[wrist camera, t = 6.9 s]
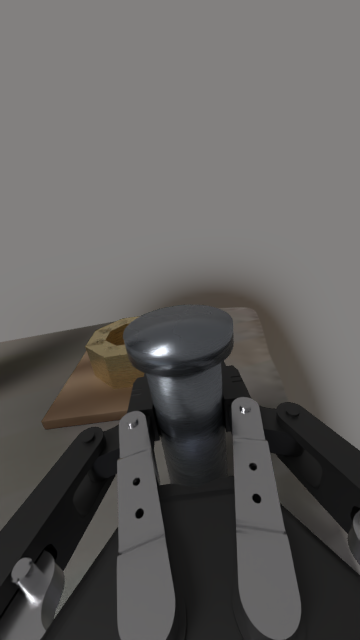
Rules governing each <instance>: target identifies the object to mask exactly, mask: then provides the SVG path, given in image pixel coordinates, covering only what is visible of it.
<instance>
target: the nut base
mask: <svg viewBox="0 0 360 640" xmlns="http://www.w3.org/2000/svg"><path fill="white" fill-rule="evenodd" d="M139 317H140V316H139ZM136 318H138V317H131V318H123V319H120V320H118V321H116V322H114V323H111V324H109V325H107V326H105V327H102V328H100V329H98V330H96V331H95V333H94V334H93V336H92V337H91V339H90V340H89V342H88V343H87V344H86V346H85V348H86V352H85V354H84V356H83V357H82V359H81V360H80V362H79V363H78V365H77V367H76V368H75V370H74V371H73V373H72V374H71V376H70V377H69V379H68V381H67V382H66V384H65V385H64V387H63V388H62V390H61V392H60V393H59V395H58V396H57V398H56V399H55V401H54V402H53V404H52V406H51V407H50V409H49V410H48V412H47V413H46V415H45V417H44V418H43V420H42V421H41V422H42V424H43V426H44V428H45V429H52V428H60V427H67V426H75V425H83V424H90V423H98V422H106V421H113V420H121V419H122V417H123V416H125V415H126V414H127V410H128V406H129V401H130V396H131V392H132V387H133V383H134V382H135V381H136V379H137V378H139V377H144V372H141V371H139V370H138V369H136V368H135V367H134V366H132V364H131V363H130V361H129V359H128V355H127V351H126V347H125V343H124V339H123V332H124V330H125V328H126V327H127V326H128V325H129V324H130V323H131V322H132V321H133V320H135V319H136Z"/></svg>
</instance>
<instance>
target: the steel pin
mask: <svg viewBox="0 0 360 640" xmlns="http://www.w3.org/2000/svg"><path fill="white" fill-rule="evenodd" d="M123 339H124V343H125V347H126V351H127V355H128V359H129V361H130V363H131V364H132V366H134V367H135V368H136V369H138V370H139V371H141V372H144V373H146V375H147V379H148V384H149V388H150V393H151V397H152V402H153V406H154V410H155V415H156V419H157V424H158V428H159V433H160V437H161V442H162V446H163V450H164V455H165V459H166V464H167V468H168V473H169V477H170V481H171V484H178V485H185V486H191V487H199V486H201V485H203V484H206V483H208V482H210V481H213V480H215V479H217V478H221V477H228V474H227V457H226V440H225V425H224V408H223V390H222V373H221V362H223V361H224V360H225V359H226V358H227V357H228V356H229V355H230V353H231V351H232V349H233V343H234V341H233V320H232V318H231V316H230V315H229V314H228V313H226V312H225V311H223V310H221V309H218V308H215V307H211V306H204V305H178V306H172V307H166V308H162V309H158V310H155V311H152V312H149V313H146V314H144V315H142V316H140V317H138V318H136V319H135V320H133V321H132V322H131V323H130V324H129V325H128V326H127V327H126V328H125V330H124V332H123Z"/></svg>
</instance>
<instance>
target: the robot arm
mask: <svg viewBox="0 0 360 640" xmlns="http://www.w3.org/2000/svg"><path fill="white" fill-rule="evenodd" d="M221 373H222V390H223V408H224V425H225V429H226V432H230V431H231V433H232V436H233V458H234V476H229V477H221V478H217V479H215V480H213V481H210V482H208V483H206V484H203V485H201V486H199V487H191V486H185V485H178V484H166V485H160V480H159V474H158V469H157V464H156V458H155V453H154V441H158V440H160V433H159V428H158V424H157V419H156V415H155V410H154V406H153V402H152V397H151V393H150V388H149V384H148V379H147V375H146V373H144V377H139V378H137V379H136V381H135V382H134V383H133V387H132V392H131V396H130V401H129V406H128V410H127V414H126V415H125V416H123V417H122V419H121V420H120V422H119V425H118V426H116V427H114V428H112V429H109V430H107V431H104V432H103V431H102V429H101V428H99V427H91V428H88V429H86V430H84V431H83V432H81V433H80V434H79V435H78V436H77V438H76V439H75V440H74V441H73V442H72V444H71V445H70V446H69V447H68V449H67V450H66V451H65V452H64V454H63V455H62V456H61V457H60V458H59V460H58V461H57V462H56V463H55V465H54V466H53V467H52V468H51V470H50V471H49V472H48V473H47V475H46V476H45V477H44V478H43V479H42V481H41V482H40V483H39V484H38V486H37V487H36V488H35V489H34V491H33V492H32V493H31V494H30V496H29V497H28V498H27V499H26V500H25V502H24V503H23V504H22V505H21V507H20V508H19V509H18V510H17V512H16V513H15V514H14V515H13V517H12V518H11V519H10V520H9V521H8V523H7V524H6V525H5V526H4V528H3V529H2V530H1V531H0V640H360V575H359V574H358V573H357V572H356V571H354V570H353V569H352V568H351V567H350V566H349V565H348V564H347V563H346V562H344V561H343V560H342V559H341V558H340V557H339V556H338V555H337V554H336V553H334V552H333V551H332V550H331V549H330V548H329V547H328V546H327V545H326V544H324V543H323V542H322V541H321V540H320V539H319V538H318V537H317V536H316V535H314V534H313V533H312V532H311V531H310V530H309V529H308V528H307V527H306V526H304V525H303V524H302V523H301V522H300V521H299V520H298V519H297V518H296V517H294V516H293V515H292V514H291V513H290V512H289V511H288V510H287V509H286V508H284V507H283V506H282V505H281V504H280V502H279V497H278V492H277V487H276V481H275V476H274V471H273V466H272V461H271V455H270V453H276V455H277V456H278V458H279V459H280V460H281V461H282V462H283V463H284V464H285V465H286V466H287V467H288V469H289V470H290V471H291V472H292V473H293V474H294V475H295V476H296V477H297V478H298V480H299V481H300V482H301V483H302V484H303V485H304V486H305V487H306V488H307V489H308V491H309V492H310V493H311V494H312V495H313V496H314V497H315V498H316V499H317V500H318V502H319V503H320V504H321V505H322V506H323V507H324V508H325V509H326V510H327V511H328V513H329V514H330V515H331V516H332V517H333V518H334V519H335V520H336V521H337V522H338V524H339V525H340V526H341V527H342V528H343V529H344V530H345V531H346V532H347V533H348V545H349V548H350V550H351V552H352V554H353V556H354V558H355V559H356V560H357V562H358V563H359V564H360V451H359V450H358V449H357V448H355V447H354V446H353V445H351V444H350V443H349V442H347V441H346V440H345V439H344V438H342V437H341V436H340V435H338V434H337V433H336V432H334V431H333V430H332V429H330V428H329V427H328V426H326V425H325V424H324V423H323V422H321V421H320V420H319V419H317V418H316V417H314V416H313V415H312V414H311V413H309V412H308V411H307V410H305V409H304V408H303V407H301V406H300V405H298V404H295V403H291V402H285V403H282V404H280V405H279V406H278V407H277V409H271V408H265V407H262V406H259V405H258V403H257V402H256V401H254V400H253V399H251V397H250V395H249V393H248V390H247V388H246V386H245V384H244V382H243V380H242V378H241V376H240V373H239V371H238V370H237V369H236V368H235V367H234V366H232V365H231V366H226V365H225V363H224V361H223V362H221ZM116 474H117V483H118V528H117V529H116V530H115V532H114V533H113V535H112V536H111V538H110V539H109V541H108V542H107V543H106V545H105V546H104V548H103V549H102V551H101V552H100V554H99V555H98V557H97V558H96V559H95V561H94V562H93V564H92V565H91V567H90V568H89V570H88V571H87V572H86V574H85V575H84V577H83V578H82V580H81V581H80V583H79V584H78V585H77V587H76V588H75V590H74V591H73V593H72V594H71V596H70V597H69V598H68V600H67V601H66V603H65V604H64V606H63V607H62V609H61V610H60V611H59V613H58V614H57V616H56V617H55V619H54V615H55V611H56V608H57V606H58V604H59V601H60V598H61V595H62V592H63V589H64V583H65V576H64V572H63V571H64V569H65V567H66V565H67V564H68V562H69V560H70V558H71V556H72V554H73V553H74V551H75V549H76V547H77V545H78V543H79V542H80V540H81V538H82V536H83V534H84V532H85V531H86V529H87V527H88V525H89V523H90V521H91V520H92V518H93V516H94V514H95V512H96V510H97V509H98V507H99V505H100V503H101V501H102V499H103V498H104V496H105V494H106V492H107V490H108V488H109V487H110V485H111V483H112V481H113V479H114V477H115V475H116Z"/></svg>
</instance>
